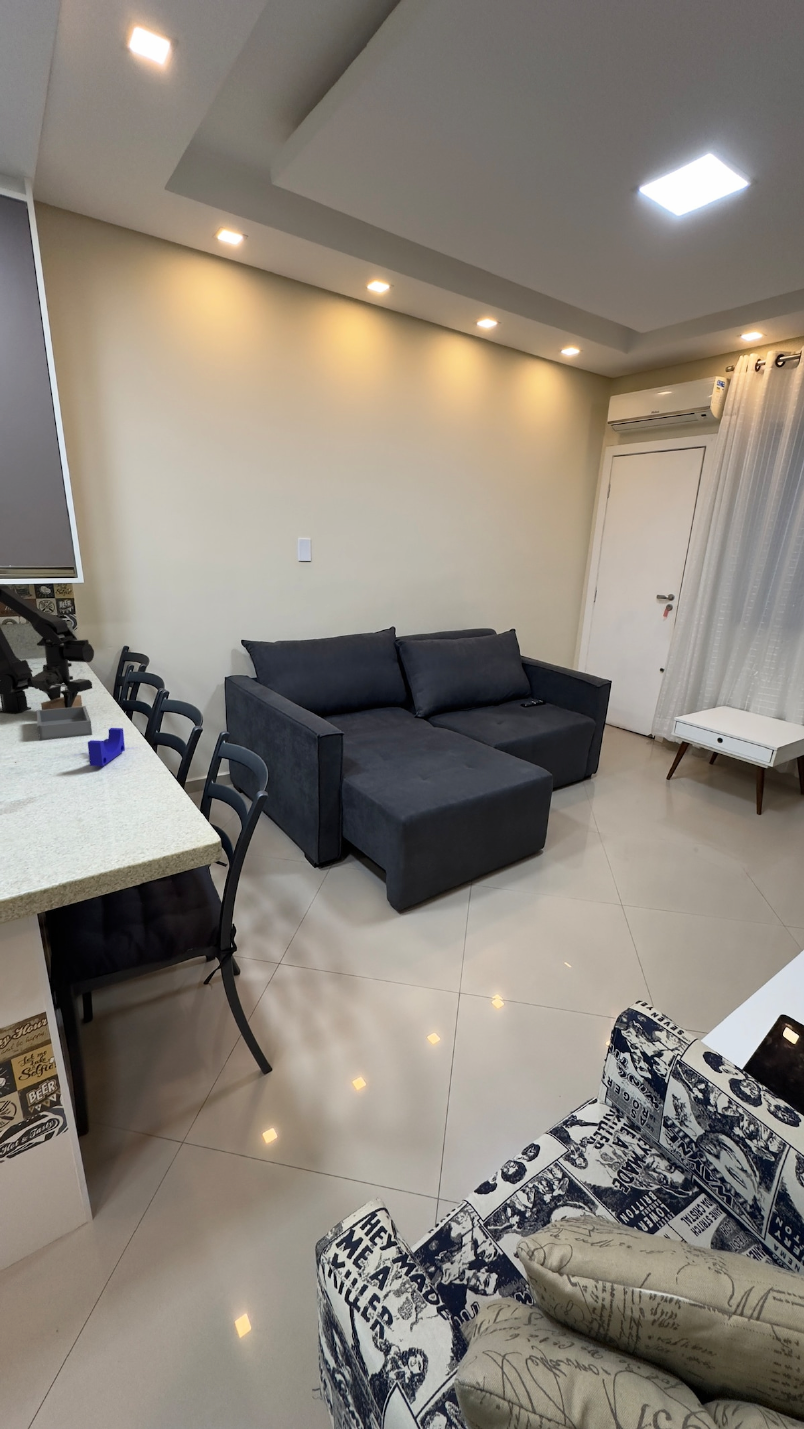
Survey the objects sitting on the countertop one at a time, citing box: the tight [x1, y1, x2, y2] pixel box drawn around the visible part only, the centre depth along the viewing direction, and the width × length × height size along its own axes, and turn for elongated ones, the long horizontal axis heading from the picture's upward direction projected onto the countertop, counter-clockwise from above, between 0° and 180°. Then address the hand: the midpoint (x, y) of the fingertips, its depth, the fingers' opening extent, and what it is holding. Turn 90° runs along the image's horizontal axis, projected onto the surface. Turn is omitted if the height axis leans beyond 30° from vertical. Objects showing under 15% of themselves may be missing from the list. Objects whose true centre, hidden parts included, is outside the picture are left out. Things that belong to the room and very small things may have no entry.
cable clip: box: [87, 727, 126, 767], centre depth 146 cm, size 12×4×6 cm, turn 0°
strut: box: [40, 694, 83, 710], centre depth 181 cm, size 4×12×6 cm, turn 167°
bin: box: [36, 705, 93, 741], centre depth 167 cm, size 18×13×4 cm
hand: (62, 710), depth 181 cm, fingers closed on strut, 4 cm apart
